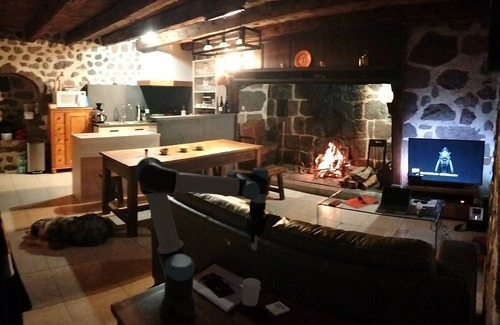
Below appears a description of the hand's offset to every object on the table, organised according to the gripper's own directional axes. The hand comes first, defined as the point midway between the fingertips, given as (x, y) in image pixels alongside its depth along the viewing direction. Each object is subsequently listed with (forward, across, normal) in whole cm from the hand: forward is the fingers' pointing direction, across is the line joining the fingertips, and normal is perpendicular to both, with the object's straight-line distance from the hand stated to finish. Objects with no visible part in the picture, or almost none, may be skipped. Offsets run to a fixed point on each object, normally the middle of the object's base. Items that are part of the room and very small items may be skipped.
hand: (253, 248), depth 191 cm
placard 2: (+20, 0, -21) cm, 29 cm away
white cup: (+21, -8, -11) cm, 24 cm away
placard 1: (+20, 0, 0) cm, 20 cm away
